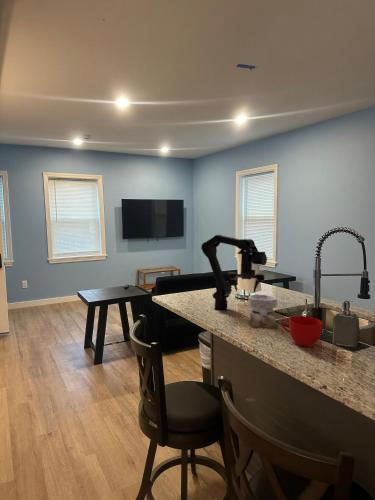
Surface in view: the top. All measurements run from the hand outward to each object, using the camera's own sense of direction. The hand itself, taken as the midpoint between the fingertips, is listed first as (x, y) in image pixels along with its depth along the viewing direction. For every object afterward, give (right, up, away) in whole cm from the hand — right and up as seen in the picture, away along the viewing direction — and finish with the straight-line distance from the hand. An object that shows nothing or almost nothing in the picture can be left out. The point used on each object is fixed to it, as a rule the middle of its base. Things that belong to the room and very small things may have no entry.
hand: (245, 292), depth 179 cm
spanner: (+7, -12, -11) cm, 18 cm away
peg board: (+7, -13, -11) cm, 19 cm away
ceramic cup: (+16, -17, -38) cm, 45 cm away
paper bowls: (+11, -12, +9) cm, 18 cm away
